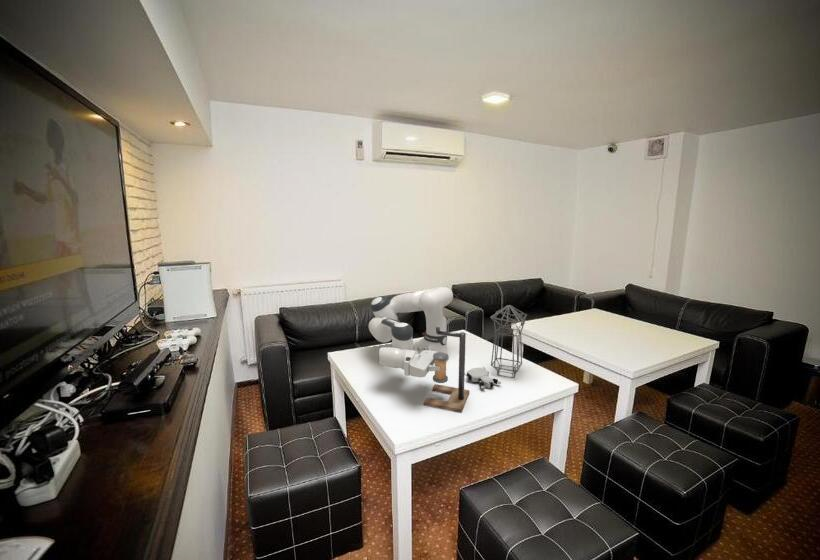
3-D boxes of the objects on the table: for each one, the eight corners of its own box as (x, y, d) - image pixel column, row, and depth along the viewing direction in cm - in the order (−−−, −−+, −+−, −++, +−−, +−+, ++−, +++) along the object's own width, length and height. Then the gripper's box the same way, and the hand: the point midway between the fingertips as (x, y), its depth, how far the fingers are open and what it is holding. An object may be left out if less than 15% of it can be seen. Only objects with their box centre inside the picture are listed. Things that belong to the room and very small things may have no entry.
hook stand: (434, 394, 144) (435, 328, 138) (436, 392, 146) (436, 326, 141) (463, 400, 140) (465, 331, 134) (464, 397, 142) (466, 330, 136)
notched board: (423, 405, 139) (423, 401, 139) (434, 387, 154) (434, 384, 154) (461, 412, 133) (461, 409, 133) (469, 393, 148) (469, 390, 148)
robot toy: (502, 388, 154) (481, 372, 167) (503, 379, 153) (482, 364, 166) (481, 394, 149) (461, 378, 162) (482, 385, 148) (462, 369, 161)
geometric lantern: (487, 376, 164) (489, 307, 158) (494, 364, 178) (497, 300, 172) (520, 383, 157) (523, 310, 151) (525, 370, 170) (529, 303, 165)
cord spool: (429, 379, 143) (430, 355, 141) (438, 374, 147) (439, 351, 145) (441, 384, 138) (442, 359, 136) (450, 379, 143) (451, 355, 141)
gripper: (420, 358, 156) (448, 362, 151) (403, 377, 138) (435, 383, 133) (420, 345, 155) (448, 349, 150) (403, 363, 137) (435, 368, 132)
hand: (442, 365), depth 141 cm, fingers closed on cord spool, 5 cm apart
